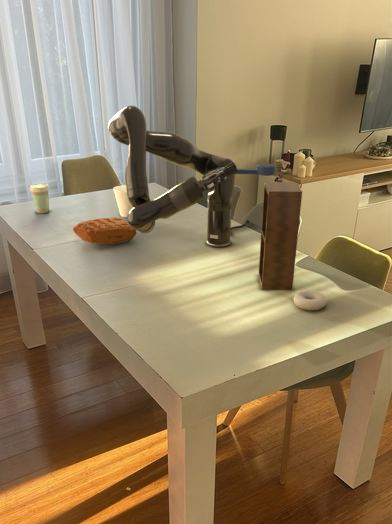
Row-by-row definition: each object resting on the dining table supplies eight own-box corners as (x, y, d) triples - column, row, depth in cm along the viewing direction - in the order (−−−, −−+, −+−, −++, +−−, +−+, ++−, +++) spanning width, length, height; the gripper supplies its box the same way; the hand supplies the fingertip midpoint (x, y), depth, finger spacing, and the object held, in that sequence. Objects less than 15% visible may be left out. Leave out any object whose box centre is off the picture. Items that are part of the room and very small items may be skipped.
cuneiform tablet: (89, 253, 206) (87, 232, 202) (72, 240, 219) (69, 221, 215) (140, 242, 217) (139, 223, 213) (121, 231, 229) (120, 212, 225)
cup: (127, 210, 256) (125, 183, 250) (146, 214, 250) (145, 187, 244) (109, 216, 248) (107, 188, 242) (129, 220, 242) (127, 192, 236)
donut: (287, 307, 166) (318, 315, 162) (288, 297, 165) (319, 304, 160) (300, 296, 174) (330, 302, 169) (301, 286, 172) (331, 292, 167)
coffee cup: (49, 214, 250) (46, 187, 244) (31, 214, 250) (27, 187, 244) (54, 209, 257) (50, 183, 251) (36, 208, 258) (32, 183, 251)
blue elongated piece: (219, 175, 162) (219, 166, 161) (218, 171, 167) (218, 162, 166) (276, 175, 162) (277, 167, 161) (274, 171, 167) (274, 163, 166)
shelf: (261, 289, 178) (268, 191, 162) (258, 275, 188) (264, 181, 172) (292, 289, 178) (302, 191, 162) (287, 275, 188) (296, 182, 172)
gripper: (179, 189, 160) (231, 159, 156) (180, 178, 172) (228, 150, 168) (192, 211, 164) (243, 182, 159) (192, 199, 176) (239, 172, 171)
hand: (235, 166), depth 164 cm, fingers closed on blue elongated piece, 2 cm apart
